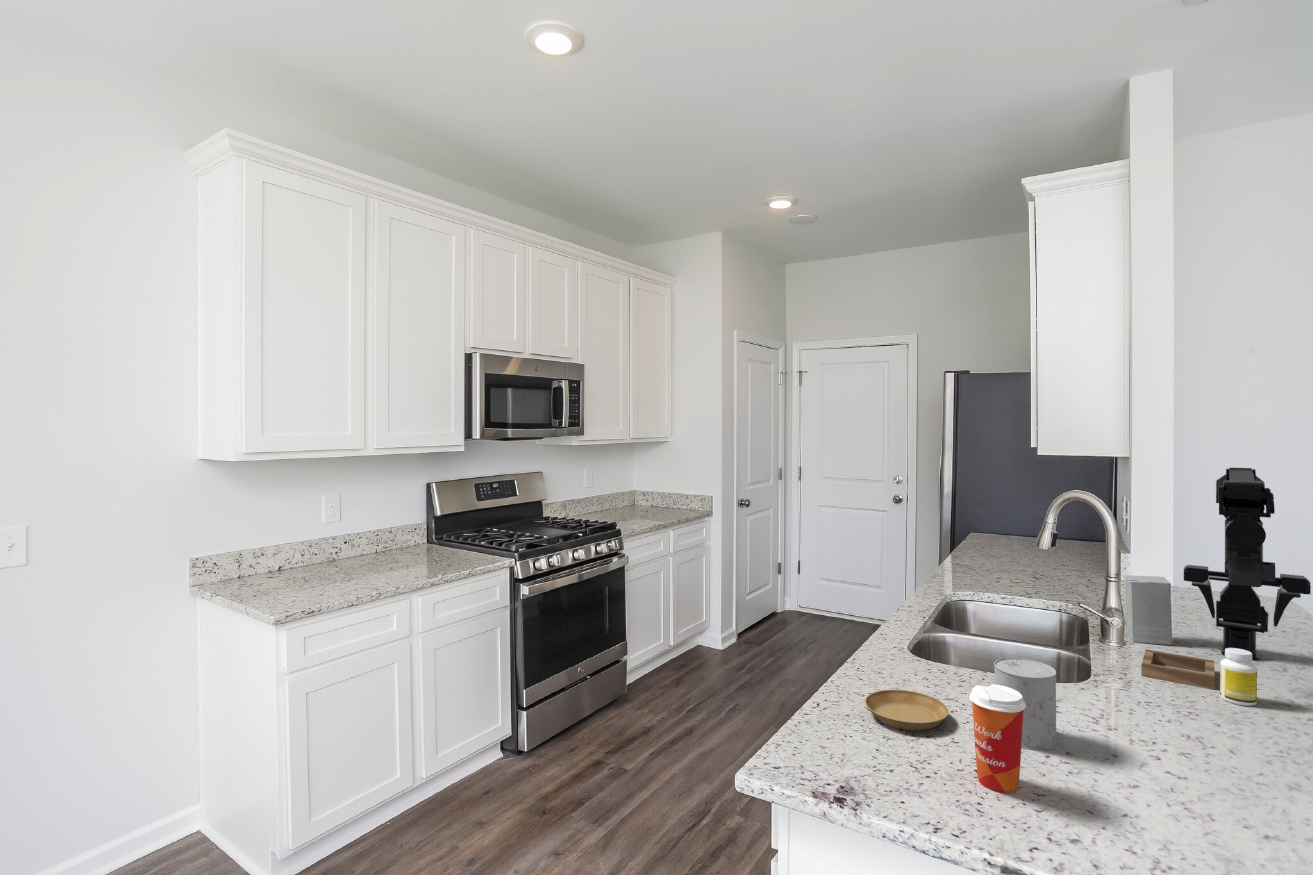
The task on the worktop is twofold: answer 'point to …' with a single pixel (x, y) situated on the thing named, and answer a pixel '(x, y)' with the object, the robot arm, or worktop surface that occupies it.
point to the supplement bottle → (1238, 677)
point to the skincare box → (1149, 609)
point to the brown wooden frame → (1178, 674)
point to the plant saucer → (906, 709)
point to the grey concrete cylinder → (1032, 698)
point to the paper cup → (998, 736)
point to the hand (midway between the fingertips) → (1243, 621)
